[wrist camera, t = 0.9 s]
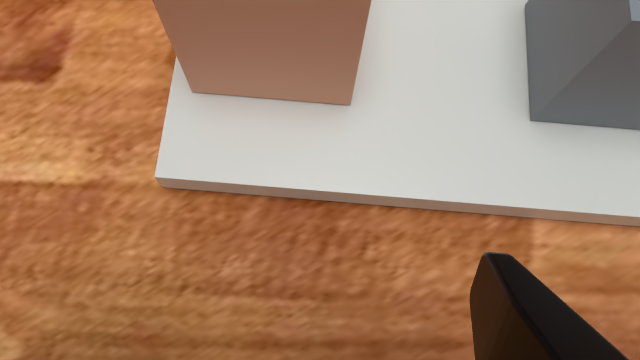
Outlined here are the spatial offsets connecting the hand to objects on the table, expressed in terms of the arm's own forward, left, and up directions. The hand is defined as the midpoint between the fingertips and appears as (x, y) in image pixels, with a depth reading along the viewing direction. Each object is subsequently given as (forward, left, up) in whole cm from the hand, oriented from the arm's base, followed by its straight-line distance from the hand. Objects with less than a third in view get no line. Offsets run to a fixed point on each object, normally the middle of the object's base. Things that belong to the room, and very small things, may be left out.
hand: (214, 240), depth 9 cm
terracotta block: (+11, +5, -12) cm, 17 cm away
